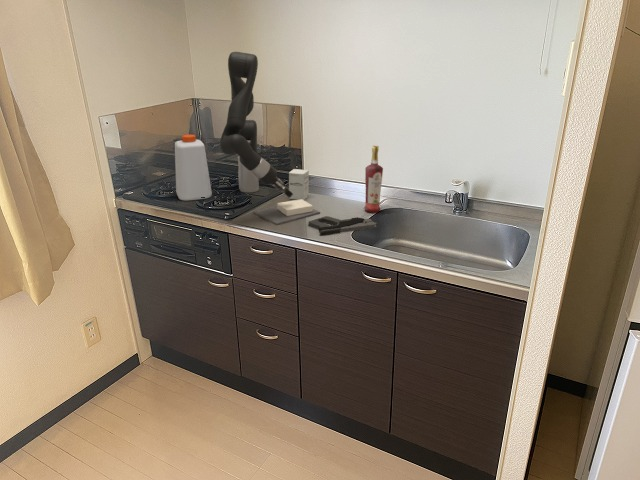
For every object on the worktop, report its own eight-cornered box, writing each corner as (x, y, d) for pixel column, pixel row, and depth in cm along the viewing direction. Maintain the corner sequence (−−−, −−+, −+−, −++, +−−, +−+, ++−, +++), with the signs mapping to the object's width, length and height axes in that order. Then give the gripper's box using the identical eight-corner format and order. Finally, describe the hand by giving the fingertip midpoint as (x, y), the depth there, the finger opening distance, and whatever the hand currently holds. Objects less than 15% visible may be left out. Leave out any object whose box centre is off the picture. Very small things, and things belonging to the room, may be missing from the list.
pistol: (305, 218, 203) (318, 231, 190) (363, 211, 211) (379, 223, 199) (305, 223, 204) (318, 237, 191) (363, 216, 212) (379, 228, 199)
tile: (276, 203, 215) (301, 199, 220) (277, 209, 216) (302, 205, 221) (286, 210, 207) (312, 205, 212) (287, 216, 208) (312, 212, 213)
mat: (253, 213, 214) (252, 211, 214) (294, 202, 227) (294, 201, 226) (277, 225, 201) (277, 223, 201) (320, 213, 214) (320, 211, 214)
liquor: (368, 214, 213) (371, 149, 202) (360, 209, 220) (363, 145, 209) (383, 212, 216) (387, 147, 205) (375, 207, 222) (379, 143, 211)
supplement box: (288, 199, 232) (288, 172, 227) (294, 194, 238) (293, 168, 233) (303, 200, 230) (303, 173, 225) (309, 196, 236) (309, 169, 231)
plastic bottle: (213, 198, 231) (208, 137, 220) (179, 202, 226) (173, 140, 215) (207, 189, 244) (202, 131, 233) (175, 192, 239) (169, 133, 228)
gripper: (275, 167, 196) (303, 192, 206) (262, 159, 206) (289, 184, 217) (263, 182, 195) (292, 207, 206) (250, 173, 206) (278, 198, 216)
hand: (290, 195), depth 211 cm, fingers closed
